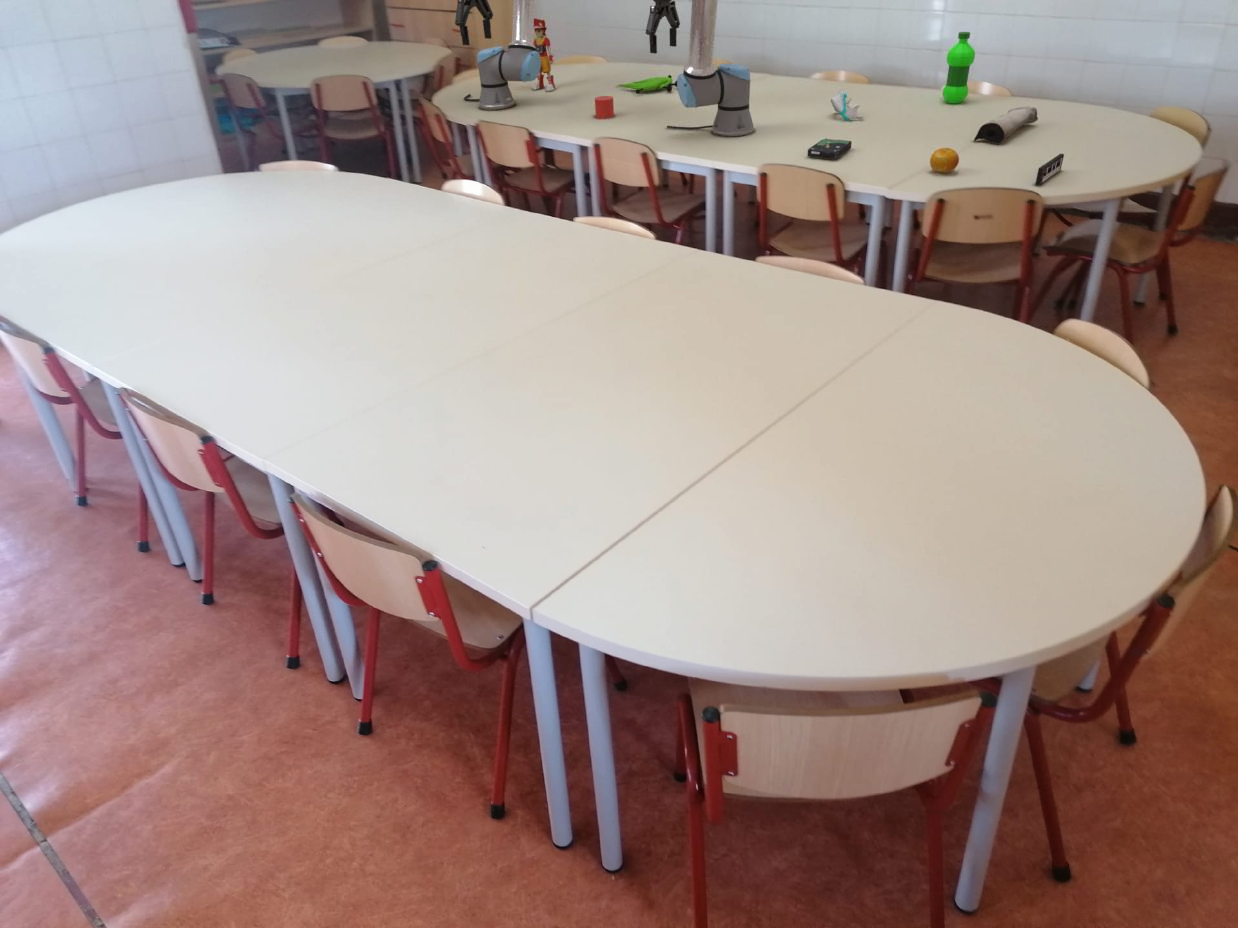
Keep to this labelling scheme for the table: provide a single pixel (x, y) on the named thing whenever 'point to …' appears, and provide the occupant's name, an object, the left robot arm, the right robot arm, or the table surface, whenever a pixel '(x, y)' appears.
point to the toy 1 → (543, 54)
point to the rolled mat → (1006, 124)
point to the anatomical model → (845, 107)
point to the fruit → (944, 160)
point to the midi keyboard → (1049, 169)
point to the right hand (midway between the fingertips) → (663, 50)
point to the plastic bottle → (958, 69)
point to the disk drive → (829, 149)
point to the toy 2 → (651, 84)
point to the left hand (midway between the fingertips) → (477, 42)
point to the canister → (604, 107)
